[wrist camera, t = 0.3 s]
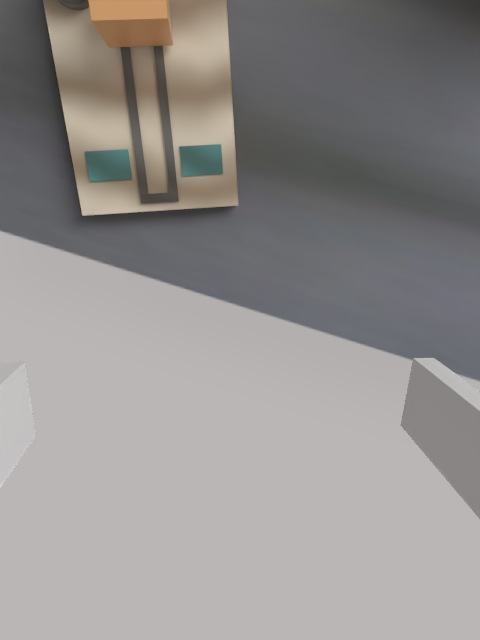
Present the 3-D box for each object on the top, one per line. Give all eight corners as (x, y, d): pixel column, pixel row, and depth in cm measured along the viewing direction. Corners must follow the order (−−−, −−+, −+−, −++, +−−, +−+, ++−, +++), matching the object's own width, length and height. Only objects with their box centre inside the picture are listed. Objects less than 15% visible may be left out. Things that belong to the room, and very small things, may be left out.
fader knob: (102, 1, 29) (82, -38, 24) (168, -1, 30) (161, -39, 25) (108, 47, 30) (90, 19, 25) (173, 45, 31) (167, 17, 26)
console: (41, -52, 30) (16, -89, 26) (221, -55, 31) (223, -91, 27) (88, 214, 36) (74, 217, 32) (236, 204, 37) (240, 206, 33)
